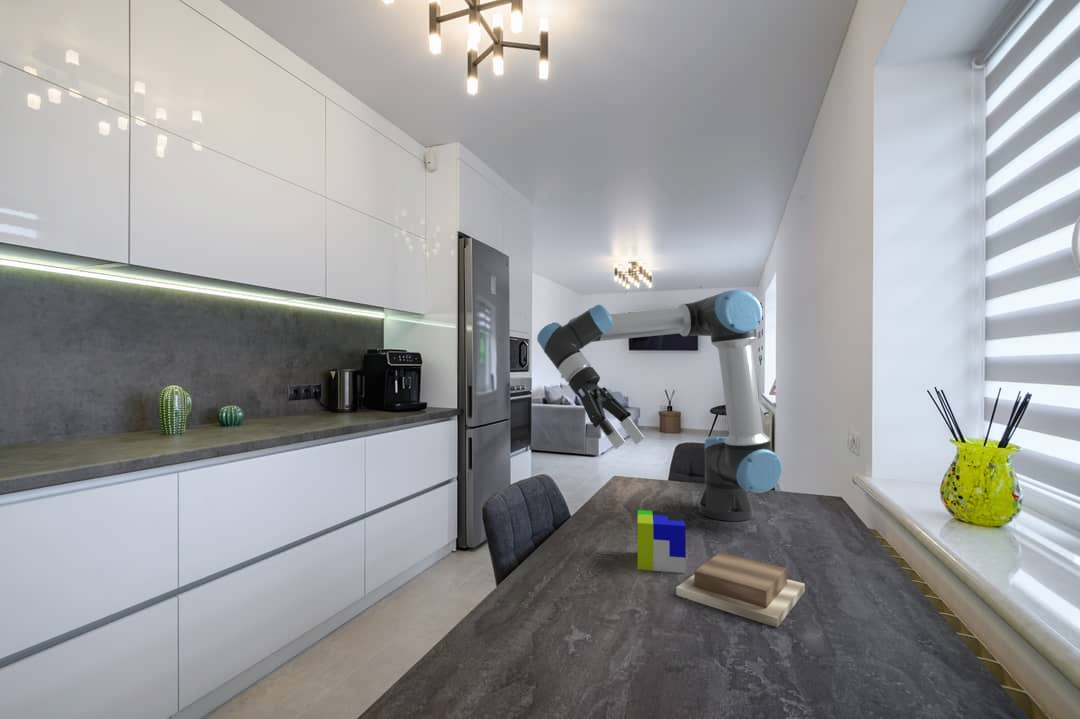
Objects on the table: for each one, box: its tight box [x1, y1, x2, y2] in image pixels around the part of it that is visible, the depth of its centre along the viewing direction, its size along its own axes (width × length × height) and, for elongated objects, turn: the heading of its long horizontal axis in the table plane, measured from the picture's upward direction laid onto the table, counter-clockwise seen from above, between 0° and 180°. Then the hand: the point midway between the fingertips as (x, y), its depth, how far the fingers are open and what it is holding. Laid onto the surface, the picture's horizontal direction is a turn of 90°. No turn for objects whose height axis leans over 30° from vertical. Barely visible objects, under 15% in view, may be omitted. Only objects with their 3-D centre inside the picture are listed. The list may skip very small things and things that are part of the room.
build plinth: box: [675, 551, 806, 628], centre depth 95 cm, size 18×18×4 cm
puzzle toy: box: [636, 509, 687, 574], centre depth 111 cm, size 10×10×10 cm
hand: (631, 443), depth 118 cm, fingers open, 13 cm apart
